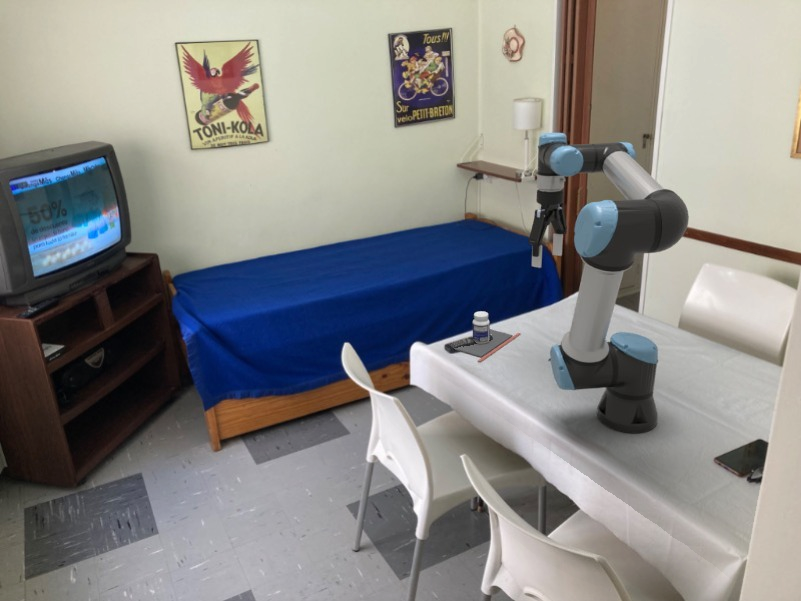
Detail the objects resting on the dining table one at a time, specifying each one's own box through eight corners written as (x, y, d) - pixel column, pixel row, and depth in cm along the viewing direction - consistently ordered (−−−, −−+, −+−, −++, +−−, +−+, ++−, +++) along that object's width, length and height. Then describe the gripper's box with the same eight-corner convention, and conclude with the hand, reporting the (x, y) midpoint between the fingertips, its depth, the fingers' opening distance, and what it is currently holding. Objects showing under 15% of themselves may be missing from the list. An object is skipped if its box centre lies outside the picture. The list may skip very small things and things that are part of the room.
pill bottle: (476, 336, 222) (477, 309, 218) (492, 339, 219) (492, 312, 216) (469, 342, 218) (469, 315, 214) (485, 345, 215) (485, 318, 211)
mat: (481, 357, 208) (481, 356, 208) (453, 349, 214) (453, 348, 214) (512, 336, 222) (512, 335, 222) (485, 329, 229) (485, 327, 228)
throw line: (480, 362, 205) (480, 361, 205) (477, 361, 205) (477, 360, 205) (520, 334, 223) (520, 333, 223) (518, 333, 224) (518, 332, 224)
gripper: (542, 198, 172) (539, 274, 179) (580, 183, 190) (576, 252, 197) (517, 195, 176) (515, 269, 184) (557, 180, 194) (553, 248, 202)
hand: (547, 260), depth 190 cm, fingers open, 13 cm apart
